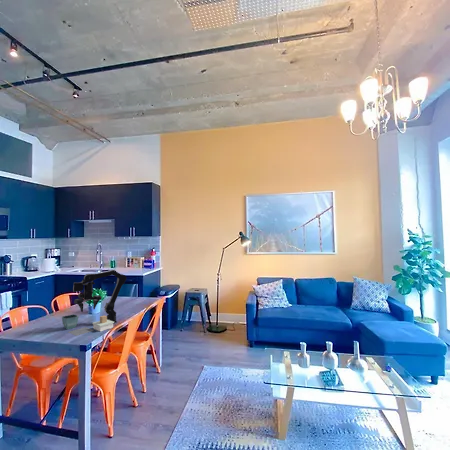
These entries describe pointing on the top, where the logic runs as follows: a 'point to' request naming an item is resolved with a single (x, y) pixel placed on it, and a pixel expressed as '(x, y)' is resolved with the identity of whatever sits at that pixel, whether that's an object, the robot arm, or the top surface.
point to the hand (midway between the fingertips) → (88, 310)
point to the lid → (103, 321)
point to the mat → (80, 331)
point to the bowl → (103, 327)
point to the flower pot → (70, 321)
